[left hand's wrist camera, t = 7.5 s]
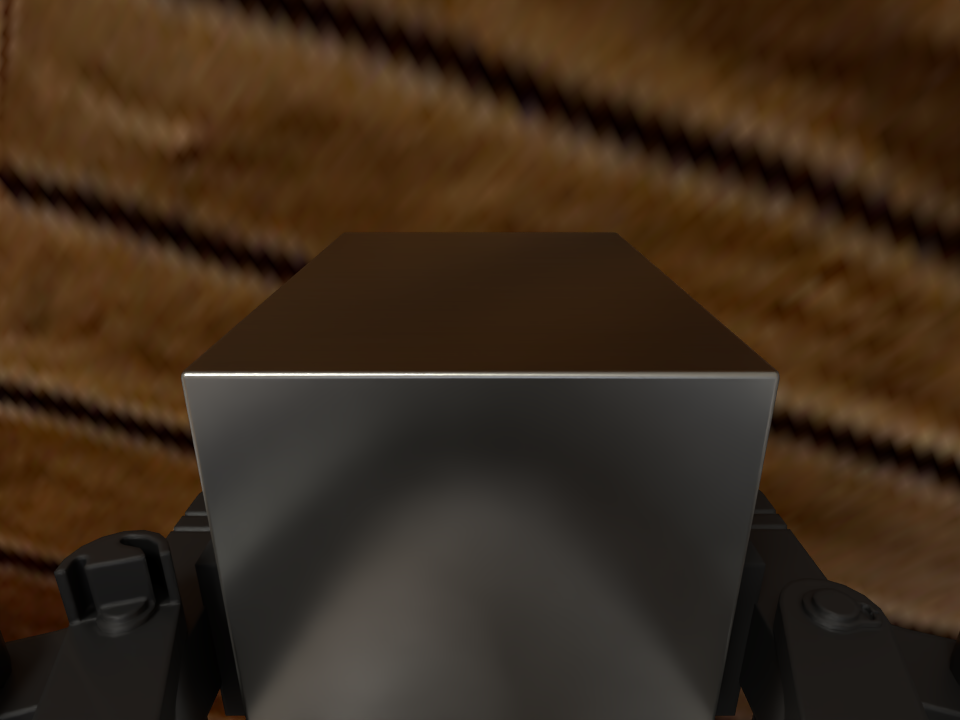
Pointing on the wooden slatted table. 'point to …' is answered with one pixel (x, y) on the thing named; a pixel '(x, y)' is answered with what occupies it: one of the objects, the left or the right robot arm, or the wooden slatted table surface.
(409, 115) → the wooden slatted table surface
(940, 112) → the wooden slatted table surface
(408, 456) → the bar
